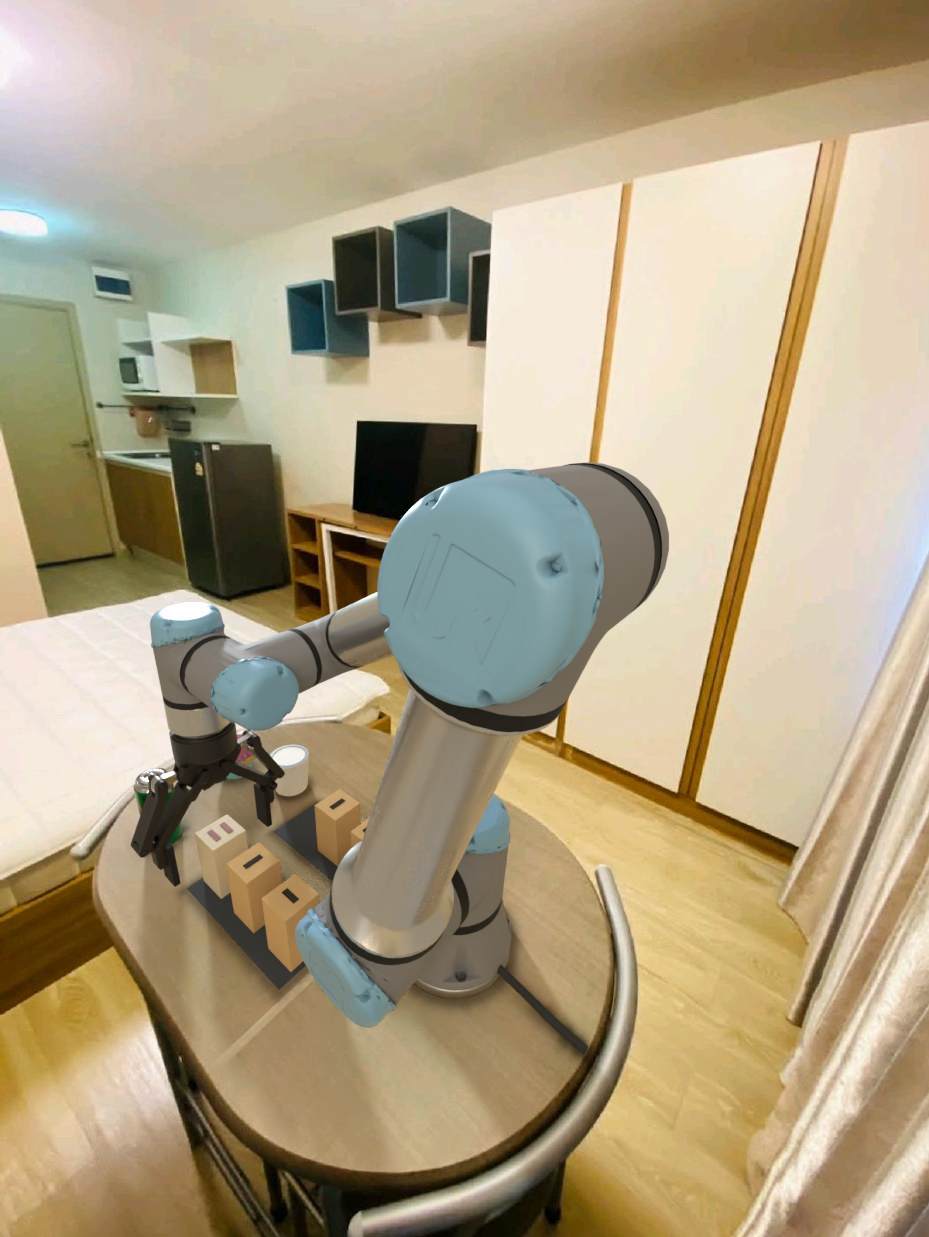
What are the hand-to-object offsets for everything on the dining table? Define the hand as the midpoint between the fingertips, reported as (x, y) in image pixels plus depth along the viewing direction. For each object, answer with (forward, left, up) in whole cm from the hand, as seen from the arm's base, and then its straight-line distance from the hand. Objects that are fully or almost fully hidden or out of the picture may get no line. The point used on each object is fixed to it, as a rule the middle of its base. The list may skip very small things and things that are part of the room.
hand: (222, 848), depth 74 cm
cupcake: (+21, -14, -6) cm, 26 cm away
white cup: (+10, -18, -6) cm, 21 cm away
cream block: (0, 0, -6) cm, 6 cm away
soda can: (+15, +2, -6) cm, 16 cm away
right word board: (-8, -14, -6) cm, 17 cm away
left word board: (-8, 0, -6) cm, 10 cm away
